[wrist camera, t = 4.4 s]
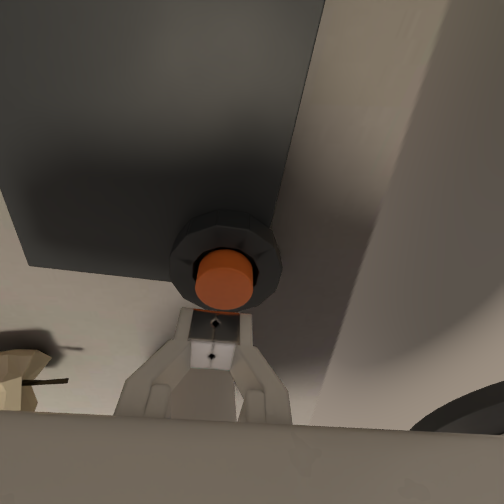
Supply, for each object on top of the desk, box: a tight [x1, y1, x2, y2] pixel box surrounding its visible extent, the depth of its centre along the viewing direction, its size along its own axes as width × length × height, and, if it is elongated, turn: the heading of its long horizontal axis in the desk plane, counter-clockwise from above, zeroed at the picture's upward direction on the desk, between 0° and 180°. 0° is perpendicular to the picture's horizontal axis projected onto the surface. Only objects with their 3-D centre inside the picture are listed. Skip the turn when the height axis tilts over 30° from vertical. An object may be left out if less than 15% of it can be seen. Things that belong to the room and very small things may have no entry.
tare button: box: [195, 249, 253, 310], centre depth 14 cm, size 3×3×2 cm
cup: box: [171, 368, 237, 422], centre depth 22 cm, size 11×8×8 cm
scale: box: [0, 0, 325, 312], centre depth 13 cm, size 14×15×3 cm
